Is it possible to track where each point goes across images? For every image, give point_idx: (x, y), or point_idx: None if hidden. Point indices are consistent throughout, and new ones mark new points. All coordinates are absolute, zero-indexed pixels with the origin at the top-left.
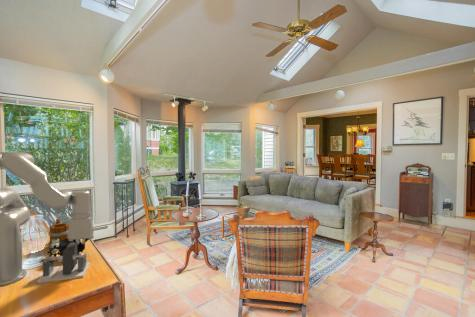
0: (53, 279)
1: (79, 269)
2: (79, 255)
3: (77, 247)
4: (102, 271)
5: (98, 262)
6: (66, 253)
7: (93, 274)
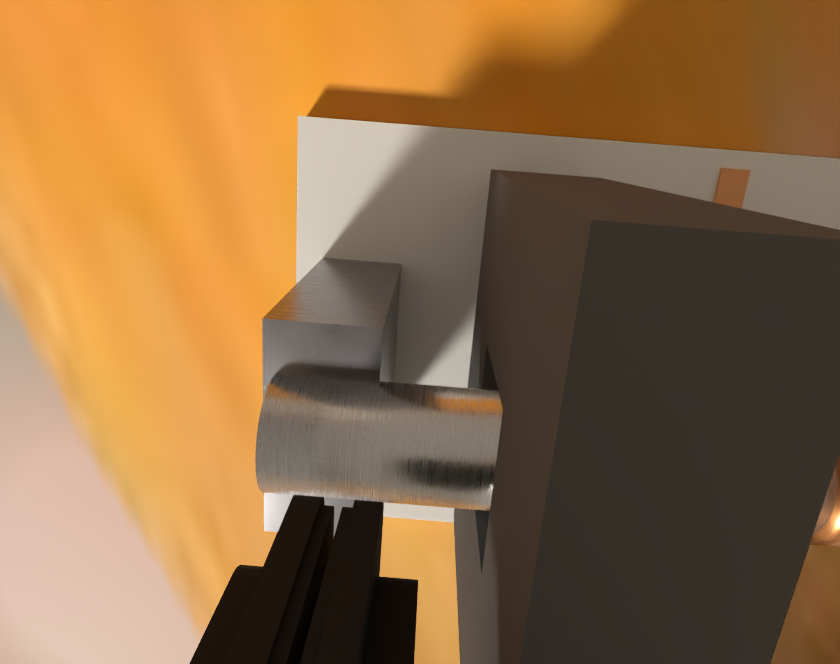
0: (710, 149)
1: (374, 268)
2: (358, 421)
3: (409, 640)
4: (65, 204)
5: (198, 503)
6: (703, 219)
7: (174, 153)
